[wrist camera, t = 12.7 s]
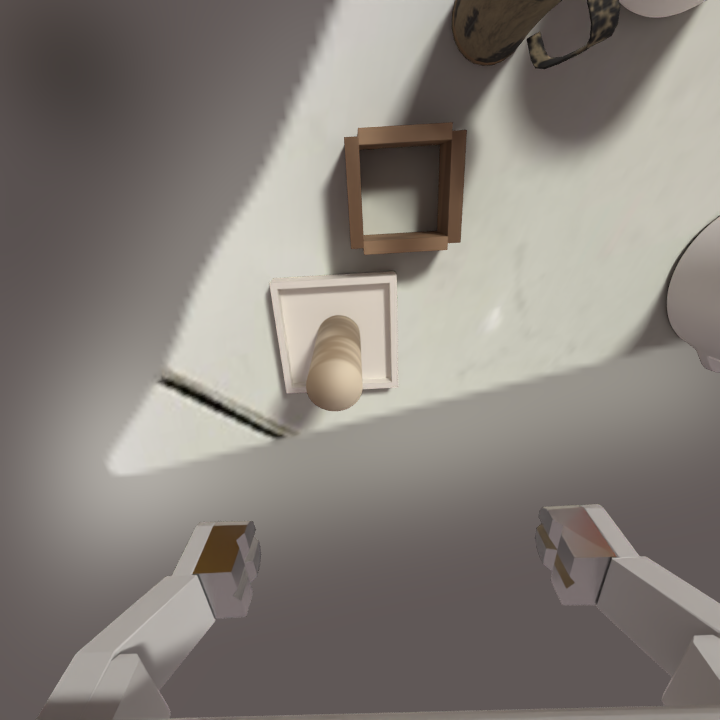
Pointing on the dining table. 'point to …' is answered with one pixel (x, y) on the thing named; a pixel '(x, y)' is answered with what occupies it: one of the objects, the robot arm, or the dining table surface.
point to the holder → (447, 188)
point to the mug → (519, 28)
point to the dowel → (336, 365)
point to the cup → (659, 7)
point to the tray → (329, 298)
